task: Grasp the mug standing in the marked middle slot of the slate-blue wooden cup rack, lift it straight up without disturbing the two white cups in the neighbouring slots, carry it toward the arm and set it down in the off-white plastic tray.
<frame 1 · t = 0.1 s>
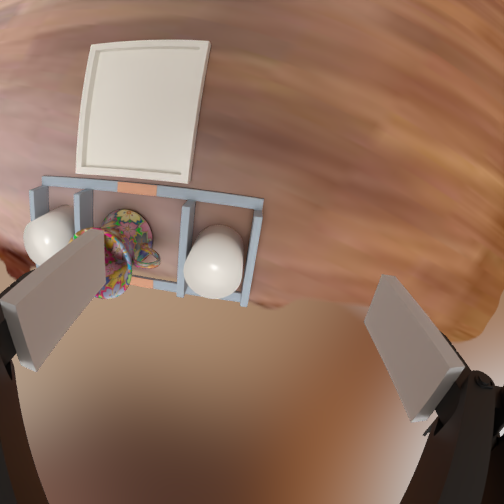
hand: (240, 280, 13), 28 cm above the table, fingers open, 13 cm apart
tray: (139, 107, 35), on the table
rack: (136, 236, 42), on the table
mug: (136, 235, 42), resting in rack
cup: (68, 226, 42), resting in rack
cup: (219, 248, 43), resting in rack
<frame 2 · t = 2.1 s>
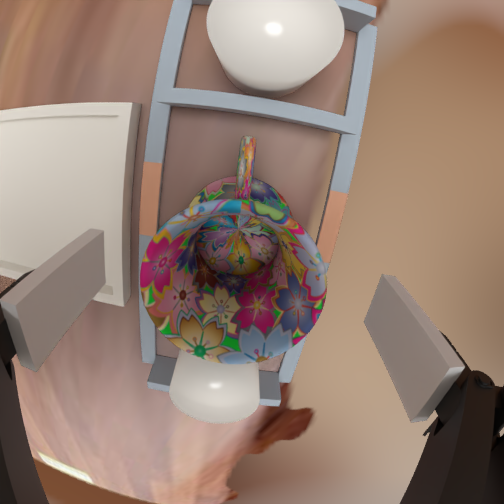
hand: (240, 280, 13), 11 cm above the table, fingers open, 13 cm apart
tray: (44, 197, 23), on the table
rack: (240, 210, 24), on the table
mug: (240, 210, 24), resting in rack
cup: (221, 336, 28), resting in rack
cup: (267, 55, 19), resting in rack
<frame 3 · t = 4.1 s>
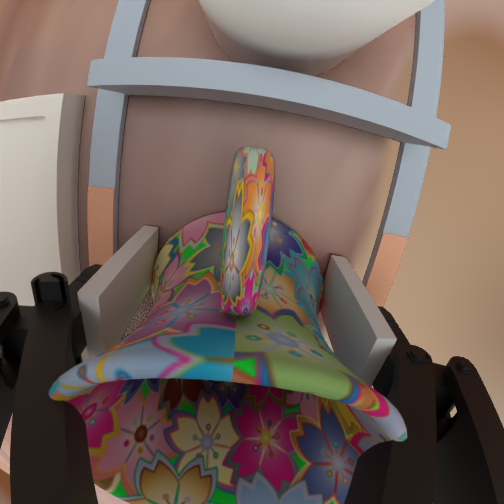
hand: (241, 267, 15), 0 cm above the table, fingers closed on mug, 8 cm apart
rack: (241, 263, 15), on the table
mug: (240, 261, 15), resting in rack, touching gripper
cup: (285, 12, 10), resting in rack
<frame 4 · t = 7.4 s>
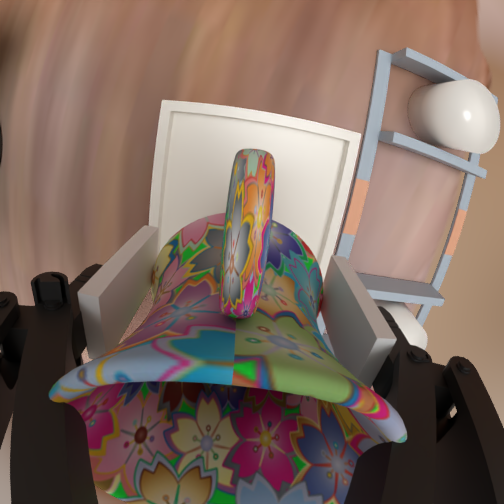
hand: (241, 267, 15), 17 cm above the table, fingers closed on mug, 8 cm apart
tray: (248, 195, 30), on the table
rack: (410, 219, 31), on the table
mug: (239, 262, 15), point 16 cm above the table, touching gripper
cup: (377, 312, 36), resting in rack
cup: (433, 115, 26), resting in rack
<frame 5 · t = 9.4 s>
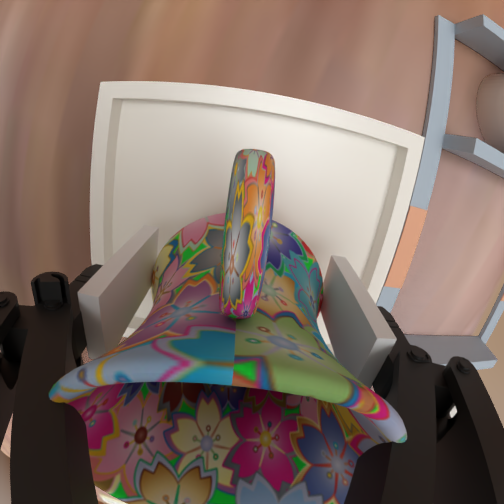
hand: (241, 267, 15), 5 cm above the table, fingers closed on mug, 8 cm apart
tray: (242, 232, 19), on the table
rack: (469, 260, 20), on the table
mug: (239, 262, 15), point 4 cm above the table, touching gripper
when the fingers open (2 cm above the table, at t = 10.9 s): mug drops 1 cm, resting on tray.
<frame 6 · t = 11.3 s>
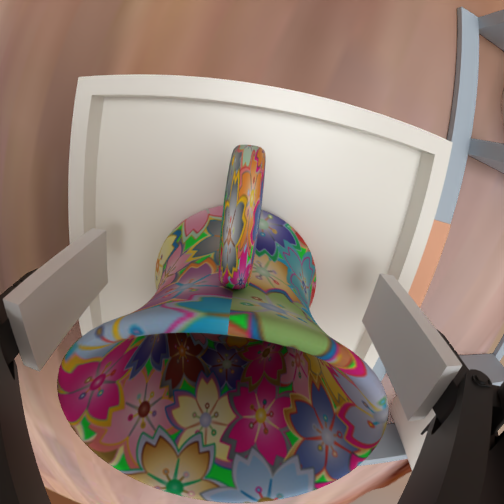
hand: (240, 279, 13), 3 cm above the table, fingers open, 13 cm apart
tray: (242, 250, 17), on the table
rack: (489, 276, 17), on the table
mug: (238, 252, 16), resting on tray
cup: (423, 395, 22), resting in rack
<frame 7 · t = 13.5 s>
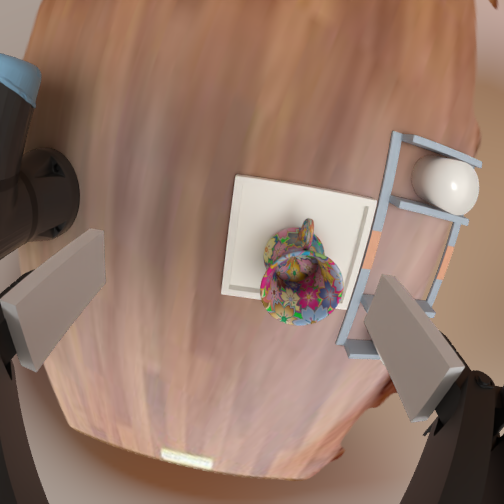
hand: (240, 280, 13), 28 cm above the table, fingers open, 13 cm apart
tray: (296, 244, 43), on the table
rack: (410, 255, 43), on the table
mug: (294, 244, 42), resting on tray
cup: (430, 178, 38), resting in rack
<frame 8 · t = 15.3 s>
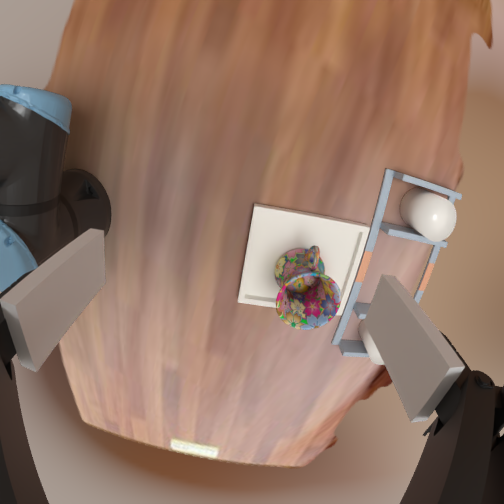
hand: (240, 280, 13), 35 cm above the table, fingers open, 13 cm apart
tray: (301, 261, 51), on the table
rack: (396, 271, 52), on the table
mug: (300, 262, 51), resting on tray
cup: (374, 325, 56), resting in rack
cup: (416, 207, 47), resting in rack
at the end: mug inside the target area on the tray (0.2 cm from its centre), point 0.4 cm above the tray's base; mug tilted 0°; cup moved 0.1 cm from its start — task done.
